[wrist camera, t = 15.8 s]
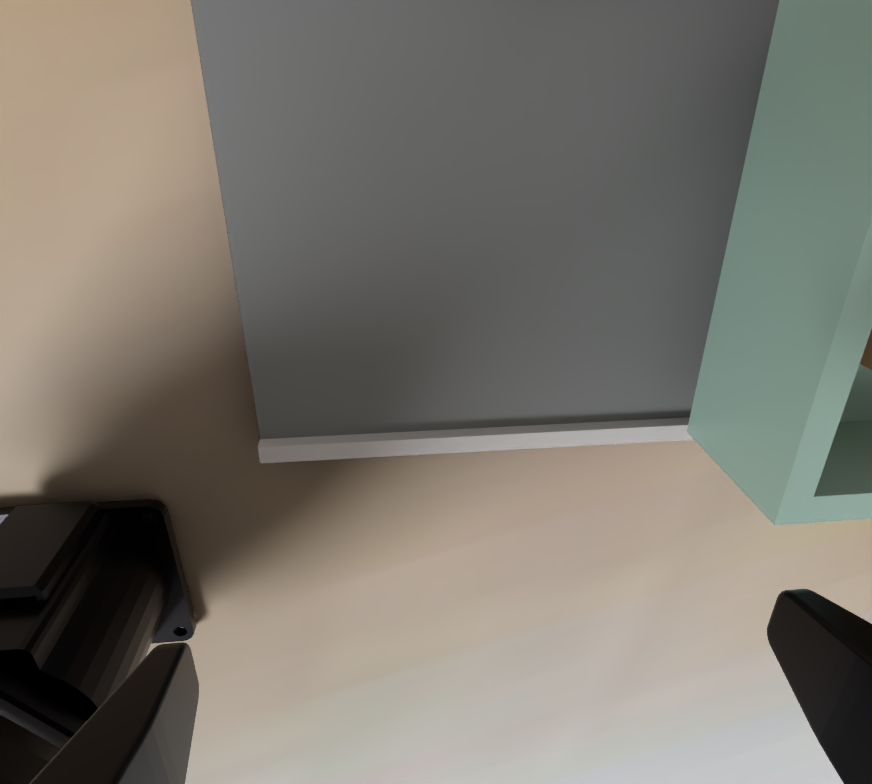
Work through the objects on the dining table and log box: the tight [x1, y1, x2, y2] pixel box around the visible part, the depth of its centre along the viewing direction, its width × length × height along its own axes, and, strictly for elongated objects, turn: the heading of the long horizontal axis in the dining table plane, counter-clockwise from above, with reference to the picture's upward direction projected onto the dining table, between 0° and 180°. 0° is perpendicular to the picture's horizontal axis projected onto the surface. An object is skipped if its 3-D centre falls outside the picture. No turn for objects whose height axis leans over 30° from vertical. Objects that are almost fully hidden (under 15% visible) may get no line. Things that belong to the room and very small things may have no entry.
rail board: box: [191, 0, 779, 463], centre depth 17 cm, size 14×30×3 cm, turn 90°
